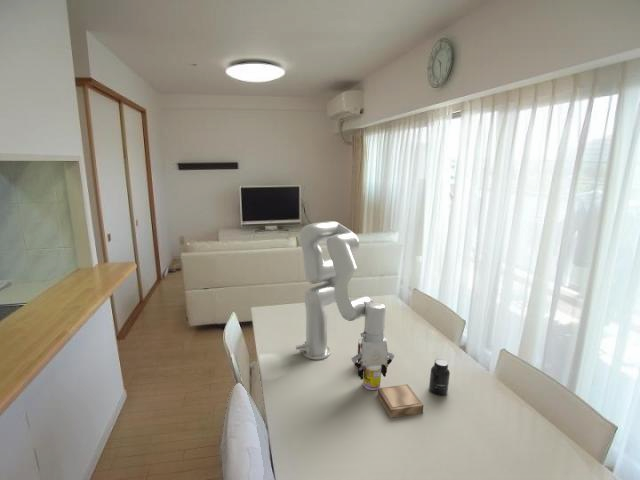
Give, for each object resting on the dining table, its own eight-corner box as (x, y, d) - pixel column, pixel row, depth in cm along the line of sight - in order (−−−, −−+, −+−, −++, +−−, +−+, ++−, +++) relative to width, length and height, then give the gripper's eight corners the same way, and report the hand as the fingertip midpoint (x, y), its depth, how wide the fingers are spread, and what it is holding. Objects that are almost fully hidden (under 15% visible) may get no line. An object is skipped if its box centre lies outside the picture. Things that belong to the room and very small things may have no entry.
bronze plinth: (390, 417, 118) (391, 409, 118) (377, 395, 130) (377, 387, 129) (422, 412, 121) (423, 404, 120) (407, 391, 132) (407, 383, 132)
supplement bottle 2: (438, 398, 129) (441, 369, 126) (425, 388, 134) (427, 360, 132) (451, 393, 132) (454, 364, 129) (438, 383, 138) (440, 355, 135)
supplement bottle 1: (359, 382, 137) (361, 353, 134) (374, 378, 140) (375, 349, 137) (368, 392, 131) (370, 362, 128) (383, 388, 134) (385, 358, 131)
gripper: (355, 342, 125) (353, 384, 129) (399, 337, 129) (397, 379, 133) (349, 332, 133) (347, 373, 136) (391, 328, 136) (389, 368, 140)
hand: (372, 376), depth 135 cm, fingers open, 8 cm apart
